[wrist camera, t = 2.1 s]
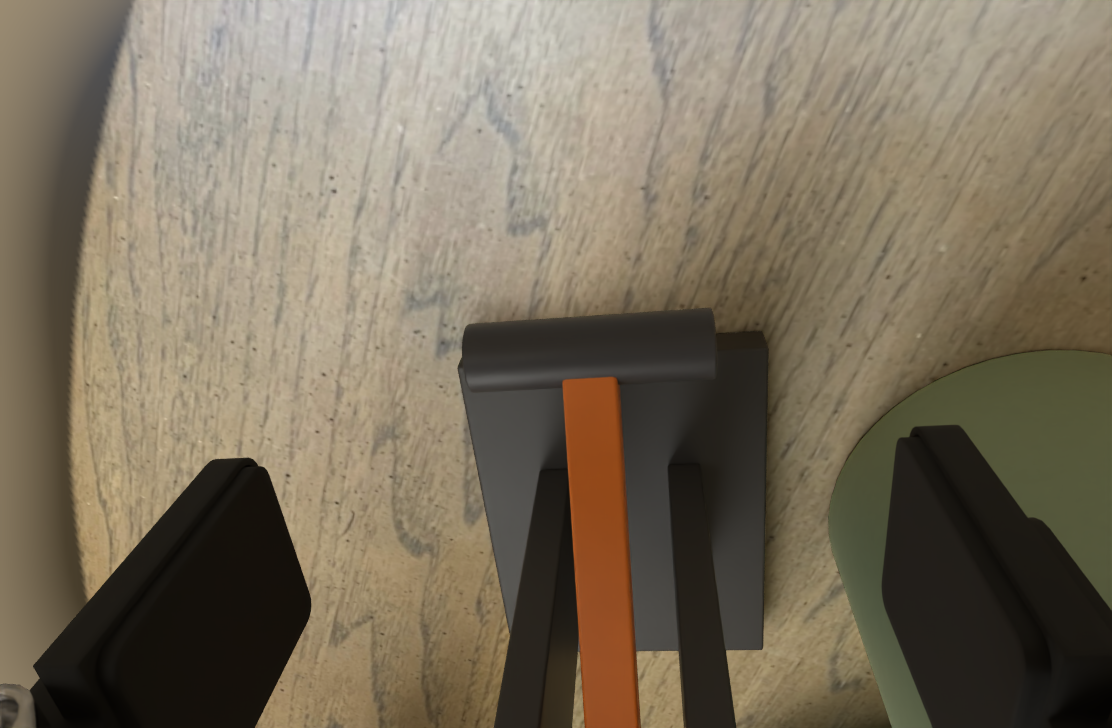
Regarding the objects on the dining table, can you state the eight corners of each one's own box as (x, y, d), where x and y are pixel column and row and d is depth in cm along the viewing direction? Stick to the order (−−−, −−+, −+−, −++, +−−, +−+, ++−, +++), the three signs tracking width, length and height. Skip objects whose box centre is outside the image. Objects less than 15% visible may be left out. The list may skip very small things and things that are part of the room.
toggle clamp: (464, 348, 23) (310, 707, 12) (762, 329, 22) (896, 707, 11) (516, 628, 29) (445, 1053, 18) (758, 624, 28) (845, 1077, 17)
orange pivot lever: (481, 323, 17) (452, 324, 15) (707, 308, 16) (716, 305, 14) (517, 847, 18) (496, 930, 15) (738, 852, 17) (751, 939, 15)
